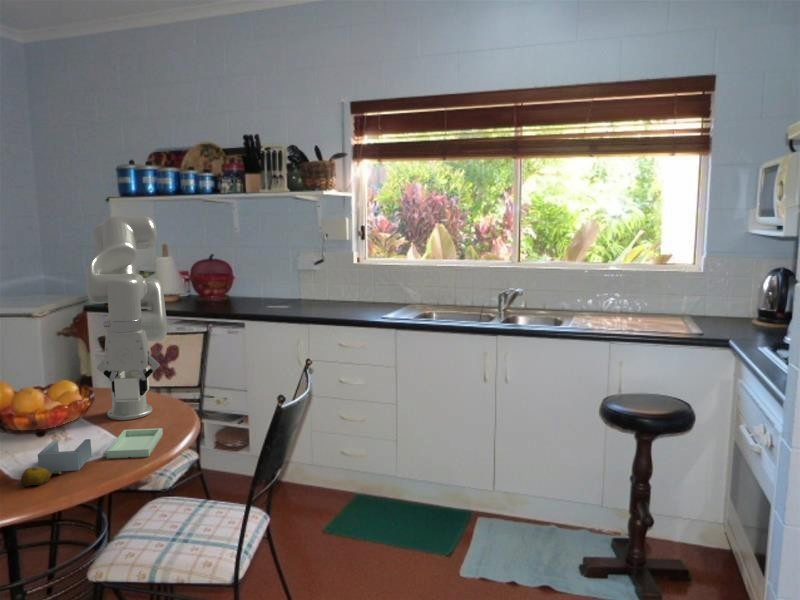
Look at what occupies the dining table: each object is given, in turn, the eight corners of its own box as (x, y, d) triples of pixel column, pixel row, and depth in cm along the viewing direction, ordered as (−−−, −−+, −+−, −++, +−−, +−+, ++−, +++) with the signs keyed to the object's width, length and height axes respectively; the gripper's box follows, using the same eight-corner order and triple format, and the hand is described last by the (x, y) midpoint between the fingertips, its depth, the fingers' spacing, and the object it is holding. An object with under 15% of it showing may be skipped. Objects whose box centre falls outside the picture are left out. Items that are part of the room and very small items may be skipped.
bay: (54, 457, 154) (52, 440, 154) (91, 455, 156) (90, 439, 155) (39, 472, 146) (37, 454, 145) (79, 470, 147) (77, 452, 146)
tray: (124, 436, 168) (124, 429, 168) (162, 435, 170) (162, 428, 169) (106, 458, 154) (106, 451, 154) (148, 456, 155) (148, 449, 155)
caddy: (127, 389, 164) (125, 357, 163) (149, 389, 165) (147, 356, 163) (115, 401, 154) (113, 367, 153) (138, 401, 155) (136, 366, 154)
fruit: (65, 472, 147) (63, 458, 146) (49, 488, 138) (47, 473, 138) (28, 473, 146) (27, 459, 145) (10, 490, 138) (9, 474, 137)
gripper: (84, 329, 150) (90, 400, 153) (157, 328, 152) (161, 397, 155) (95, 323, 157) (100, 391, 160) (164, 322, 159) (168, 388, 162)
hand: (130, 393), depth 157 cm, fingers closed on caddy, 5 cm apart
